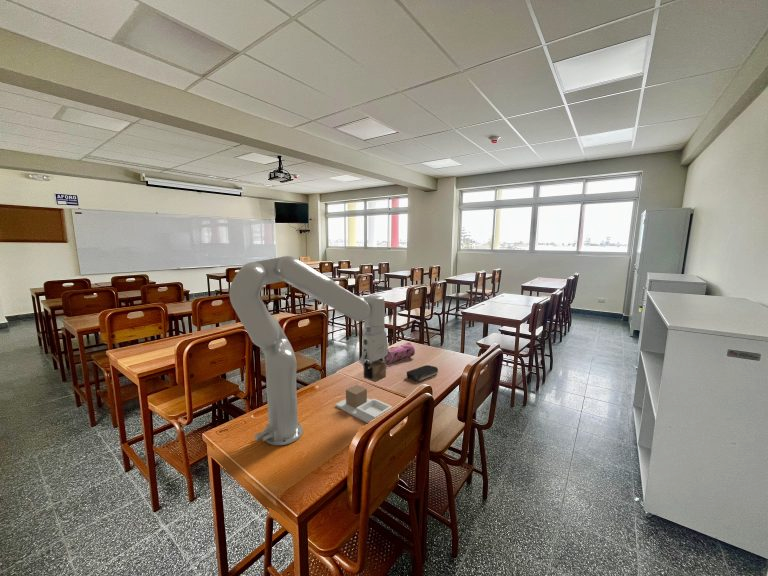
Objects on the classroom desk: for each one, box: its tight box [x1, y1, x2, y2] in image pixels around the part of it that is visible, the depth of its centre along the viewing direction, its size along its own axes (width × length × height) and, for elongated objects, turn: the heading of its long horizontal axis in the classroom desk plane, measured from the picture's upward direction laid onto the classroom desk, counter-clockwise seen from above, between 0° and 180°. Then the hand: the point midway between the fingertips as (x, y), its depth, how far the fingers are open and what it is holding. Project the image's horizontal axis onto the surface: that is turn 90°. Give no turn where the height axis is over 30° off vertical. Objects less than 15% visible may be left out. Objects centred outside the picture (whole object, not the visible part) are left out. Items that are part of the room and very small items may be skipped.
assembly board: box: [335, 384, 394, 424], centre depth 122 cm, size 12×22×7 cm, turn 49°
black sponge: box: [406, 364, 439, 382], centre depth 154 cm, size 16×8×4 cm, turn 130°
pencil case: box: [385, 342, 416, 366], centre depth 174 cm, size 21×9×9 cm, turn 129°
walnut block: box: [363, 360, 387, 383], centre depth 117 cm, size 6×6×6 cm
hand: (374, 374), depth 117 cm, fingers closed on walnut block, 6 cm apart
